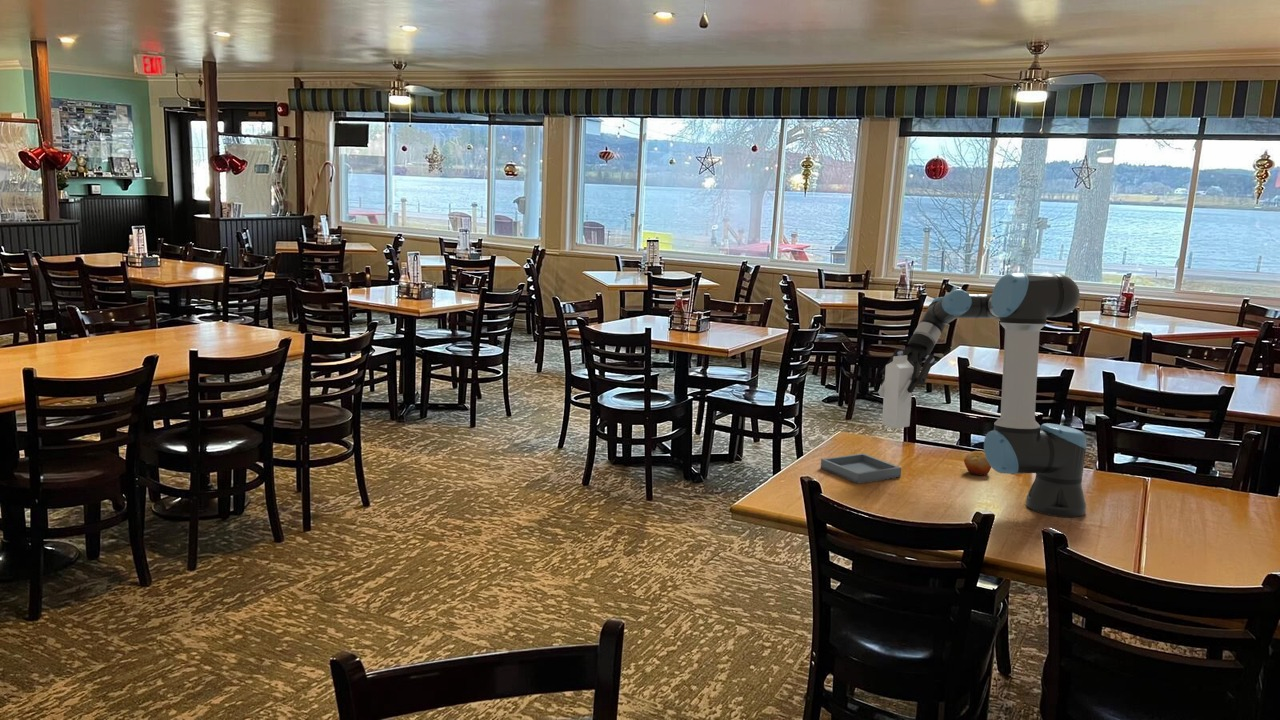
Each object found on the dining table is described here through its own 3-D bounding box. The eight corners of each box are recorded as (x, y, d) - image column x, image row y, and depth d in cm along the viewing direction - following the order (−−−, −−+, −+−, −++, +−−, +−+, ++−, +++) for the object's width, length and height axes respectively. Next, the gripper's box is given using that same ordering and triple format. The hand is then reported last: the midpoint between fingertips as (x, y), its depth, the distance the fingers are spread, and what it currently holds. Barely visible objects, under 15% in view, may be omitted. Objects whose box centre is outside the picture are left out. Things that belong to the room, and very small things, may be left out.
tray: (900, 477, 284) (901, 467, 283) (857, 483, 276) (858, 474, 275) (862, 462, 299) (863, 453, 298) (820, 468, 291) (821, 459, 290)
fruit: (995, 467, 293) (994, 448, 288) (988, 484, 288) (988, 466, 283) (968, 462, 297) (967, 444, 293) (962, 479, 292) (960, 461, 288)
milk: (881, 424, 292) (885, 355, 288) (895, 422, 295) (899, 353, 291) (895, 428, 287) (900, 358, 283) (910, 426, 290) (914, 356, 286)
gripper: (956, 351, 290) (923, 410, 282) (900, 343, 304) (868, 398, 297) (948, 336, 285) (915, 395, 277) (892, 328, 300) (859, 384, 292)
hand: (890, 397), depth 287 cm, fingers closed on milk, 7 cm apart
